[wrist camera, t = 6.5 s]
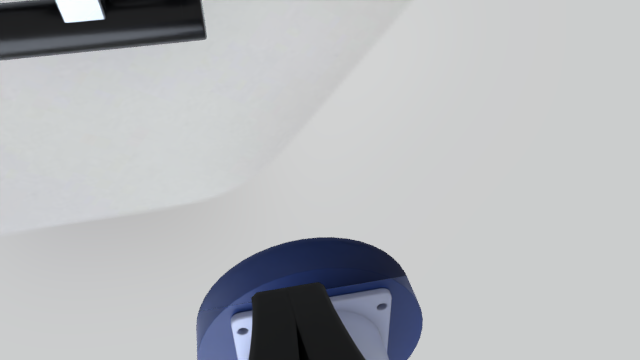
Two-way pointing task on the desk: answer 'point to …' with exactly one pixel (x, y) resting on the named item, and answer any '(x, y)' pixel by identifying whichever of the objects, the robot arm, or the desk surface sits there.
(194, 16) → the tap lever
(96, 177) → the desk surface
